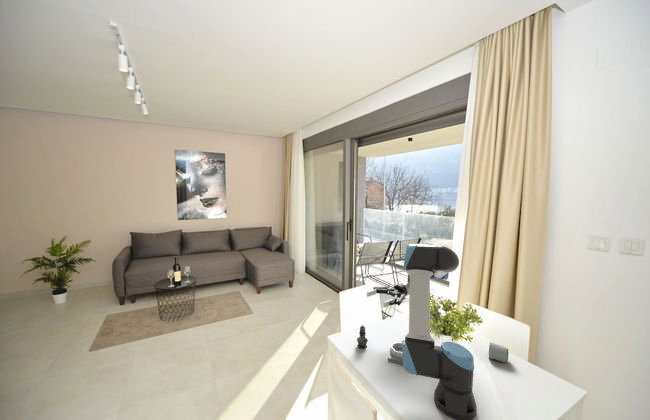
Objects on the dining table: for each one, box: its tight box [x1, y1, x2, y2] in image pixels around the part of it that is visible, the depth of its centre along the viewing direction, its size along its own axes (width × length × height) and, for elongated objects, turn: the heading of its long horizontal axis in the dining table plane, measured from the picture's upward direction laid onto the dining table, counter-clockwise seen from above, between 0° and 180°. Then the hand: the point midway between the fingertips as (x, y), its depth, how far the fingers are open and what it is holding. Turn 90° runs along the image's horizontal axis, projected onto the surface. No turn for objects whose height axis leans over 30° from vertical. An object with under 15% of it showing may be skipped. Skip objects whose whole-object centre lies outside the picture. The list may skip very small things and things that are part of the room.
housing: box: [387, 341, 404, 366], centre depth 135 cm, size 15×20×4 cm
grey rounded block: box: [488, 341, 509, 363], centre depth 136 cm, size 11×8×8 cm
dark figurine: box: [356, 324, 369, 350], centre depth 144 cm, size 6×6×12 cm
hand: (375, 299), depth 145 cm, fingers open, 13 cm apart
